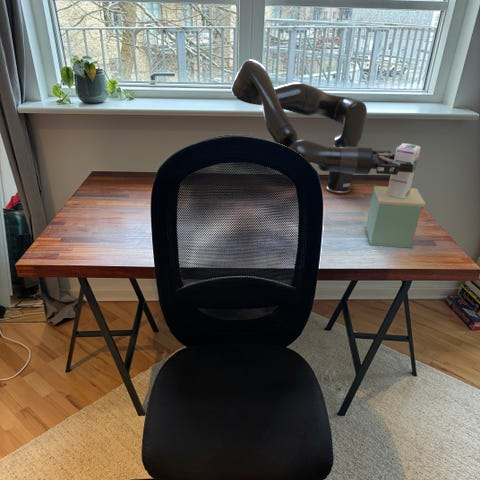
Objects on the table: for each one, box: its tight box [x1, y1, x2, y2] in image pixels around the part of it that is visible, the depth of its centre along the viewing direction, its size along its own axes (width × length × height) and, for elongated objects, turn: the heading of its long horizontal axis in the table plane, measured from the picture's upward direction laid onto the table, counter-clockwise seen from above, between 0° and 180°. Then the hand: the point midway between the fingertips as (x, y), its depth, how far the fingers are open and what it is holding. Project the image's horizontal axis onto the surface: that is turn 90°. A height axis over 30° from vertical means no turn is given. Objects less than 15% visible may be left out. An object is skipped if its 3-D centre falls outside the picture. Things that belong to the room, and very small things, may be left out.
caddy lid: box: [373, 185, 426, 208], centre depth 140 cm, size 13×13×1 cm
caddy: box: [365, 189, 423, 249], centre depth 145 cm, size 13×13×14 cm
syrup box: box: [387, 142, 422, 199], centre depth 136 cm, size 6×6×14 cm
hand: (409, 163), depth 134 cm, fingers open, 8 cm apart
